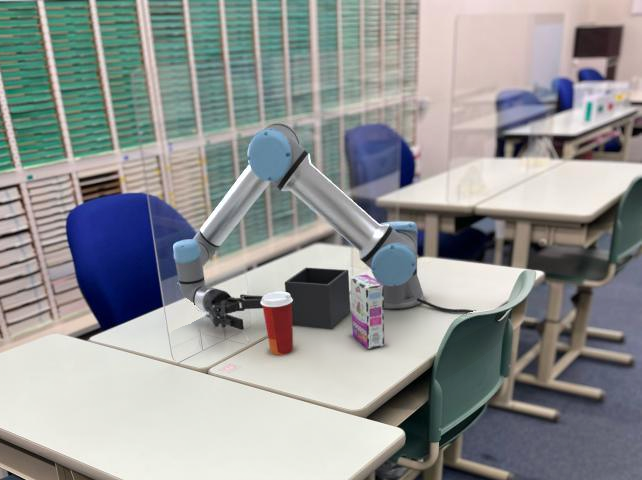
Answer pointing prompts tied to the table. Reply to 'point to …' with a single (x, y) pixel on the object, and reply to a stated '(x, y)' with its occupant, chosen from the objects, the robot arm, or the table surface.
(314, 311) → the trash bin
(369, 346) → the candy bar box
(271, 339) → the coffee cup
